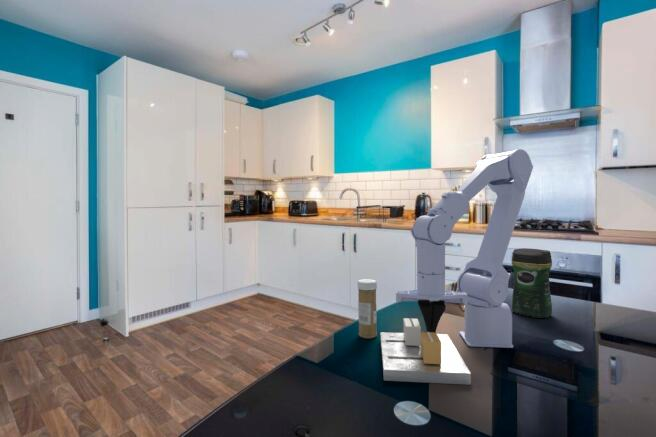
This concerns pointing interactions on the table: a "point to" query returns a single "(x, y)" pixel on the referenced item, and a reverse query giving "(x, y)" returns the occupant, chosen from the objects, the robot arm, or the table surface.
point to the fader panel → (421, 362)
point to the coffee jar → (531, 282)
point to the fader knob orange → (430, 348)
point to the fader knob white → (412, 331)
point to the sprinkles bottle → (367, 308)
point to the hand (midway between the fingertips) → (430, 335)
